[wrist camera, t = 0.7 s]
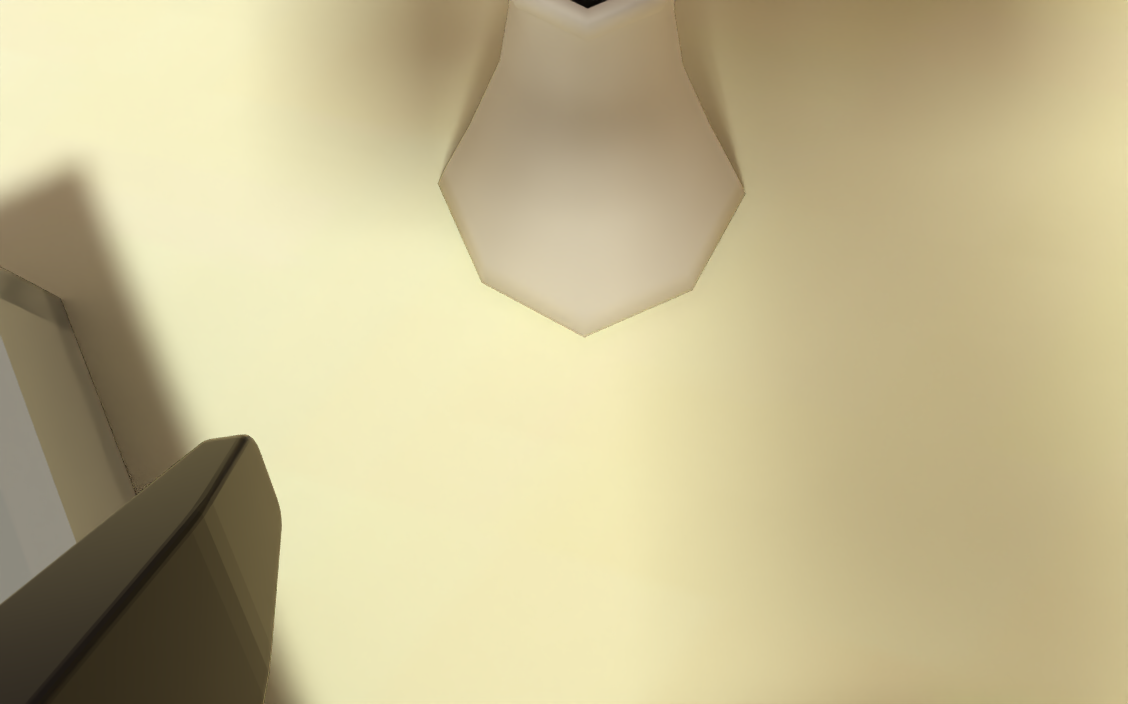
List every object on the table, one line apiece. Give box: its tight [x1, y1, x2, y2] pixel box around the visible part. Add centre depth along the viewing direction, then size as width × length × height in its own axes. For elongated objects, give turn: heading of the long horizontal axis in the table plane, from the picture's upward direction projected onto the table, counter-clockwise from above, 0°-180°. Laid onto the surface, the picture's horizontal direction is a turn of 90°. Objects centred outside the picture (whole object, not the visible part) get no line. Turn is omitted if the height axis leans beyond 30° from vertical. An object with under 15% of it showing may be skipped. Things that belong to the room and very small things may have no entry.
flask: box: [438, 0, 745, 337], centre depth 19 cm, size 7×7×10 cm
